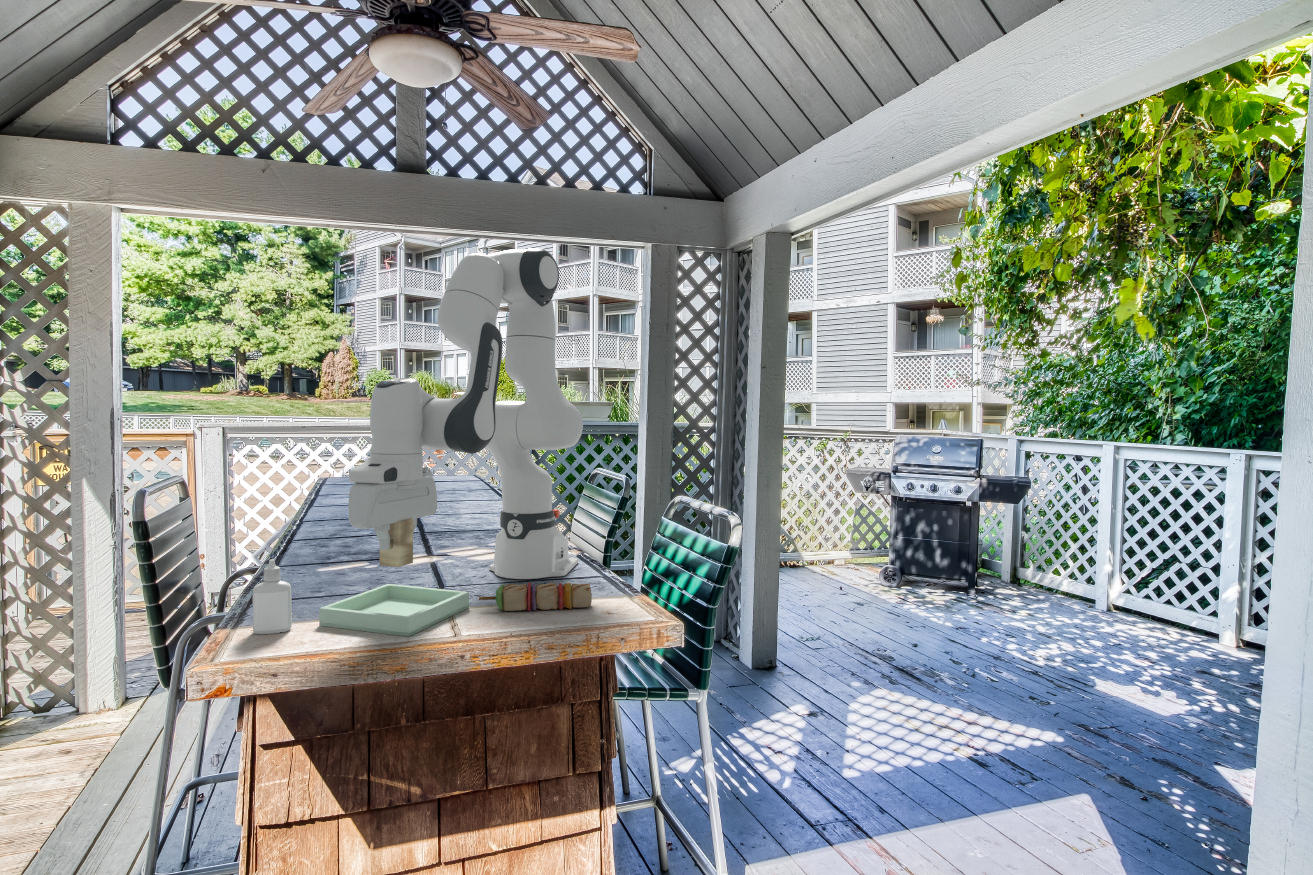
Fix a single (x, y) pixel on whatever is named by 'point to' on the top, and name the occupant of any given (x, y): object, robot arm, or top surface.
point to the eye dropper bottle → (272, 603)
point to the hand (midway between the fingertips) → (396, 546)
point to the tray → (394, 609)
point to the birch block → (399, 545)
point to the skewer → (542, 596)
